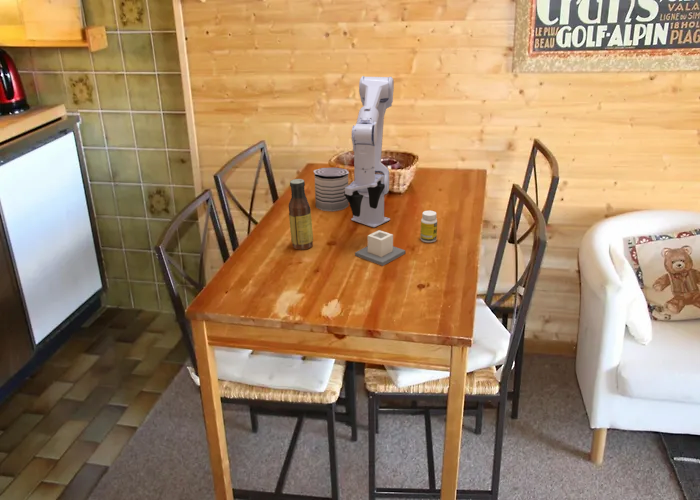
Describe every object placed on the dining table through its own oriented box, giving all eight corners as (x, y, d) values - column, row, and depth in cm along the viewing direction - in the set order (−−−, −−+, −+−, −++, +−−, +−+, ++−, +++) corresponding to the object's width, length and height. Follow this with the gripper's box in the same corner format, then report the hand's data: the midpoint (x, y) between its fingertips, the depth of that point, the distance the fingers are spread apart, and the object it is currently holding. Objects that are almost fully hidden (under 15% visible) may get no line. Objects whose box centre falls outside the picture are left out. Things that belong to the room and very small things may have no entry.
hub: (367, 251, 199) (367, 235, 197) (379, 246, 202) (379, 229, 200) (381, 256, 196) (381, 240, 194) (392, 250, 199) (393, 234, 197)
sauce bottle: (317, 243, 207) (314, 179, 198) (306, 252, 202) (303, 186, 193) (297, 240, 209) (293, 176, 201) (286, 248, 204) (282, 183, 196)
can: (307, 207, 232) (306, 172, 227) (327, 196, 241) (326, 162, 236) (337, 214, 227) (336, 178, 222) (355, 202, 236) (355, 168, 230)
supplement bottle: (435, 243, 206) (436, 216, 202) (419, 242, 207) (420, 215, 203) (437, 236, 210) (438, 210, 206) (421, 235, 211) (422, 209, 207)
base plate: (355, 255, 199) (354, 241, 197) (377, 244, 206) (377, 229, 204) (382, 265, 193) (382, 250, 191) (405, 253, 200) (405, 239, 198)
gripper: (358, 176, 190) (358, 222, 196) (392, 162, 200) (391, 207, 206) (338, 170, 195) (339, 216, 201) (372, 157, 204) (372, 201, 210)
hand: (364, 211), depth 204 cm, fingers open, 7 cm apart
